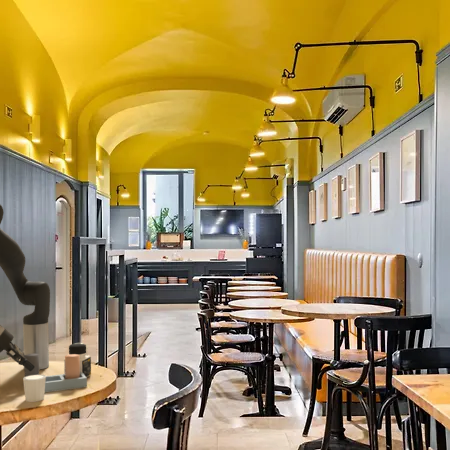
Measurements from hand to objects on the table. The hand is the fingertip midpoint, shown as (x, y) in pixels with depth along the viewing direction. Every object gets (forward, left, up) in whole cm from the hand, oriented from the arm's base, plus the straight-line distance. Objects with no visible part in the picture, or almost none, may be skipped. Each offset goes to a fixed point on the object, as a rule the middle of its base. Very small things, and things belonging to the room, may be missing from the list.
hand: (31, 366), depth 200 cm
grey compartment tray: (+8, +9, -6) cm, 14 cm away
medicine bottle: (-2, +16, -6) cm, 17 cm away
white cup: (+19, -1, -6) cm, 20 cm away
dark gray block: (0, 0, -6) cm, 6 cm away
